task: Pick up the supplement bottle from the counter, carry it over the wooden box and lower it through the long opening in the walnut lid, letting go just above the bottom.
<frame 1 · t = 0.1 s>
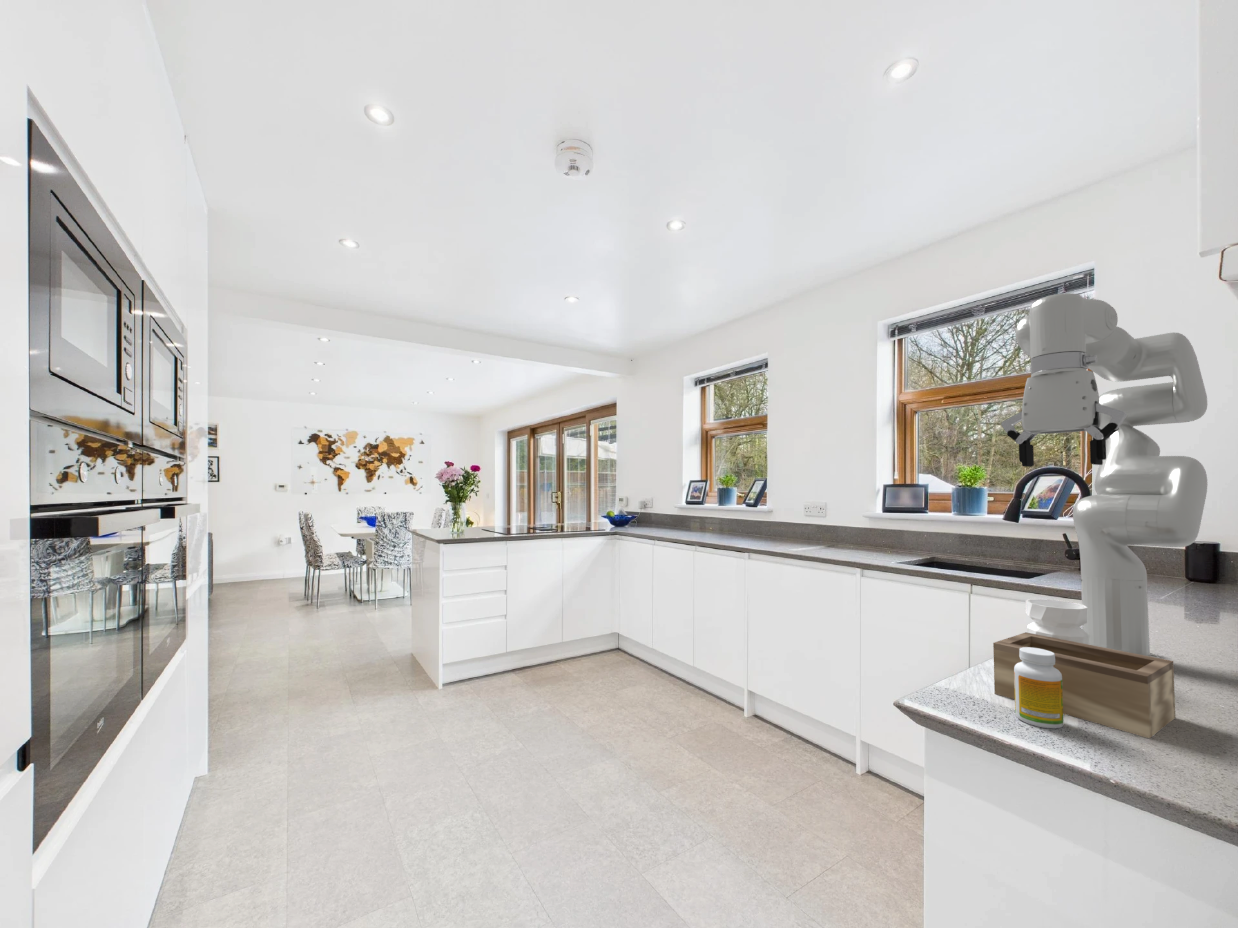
hand: (1060, 465, 93), 37 cm above the worktop, tool pointing down, fingers open, 9 cm apart
vase: (1057, 672, 96), on the worktop
supplement bottle: (1039, 722, 75), on the worktop
wooden box: (1080, 705, 81), on the worktop
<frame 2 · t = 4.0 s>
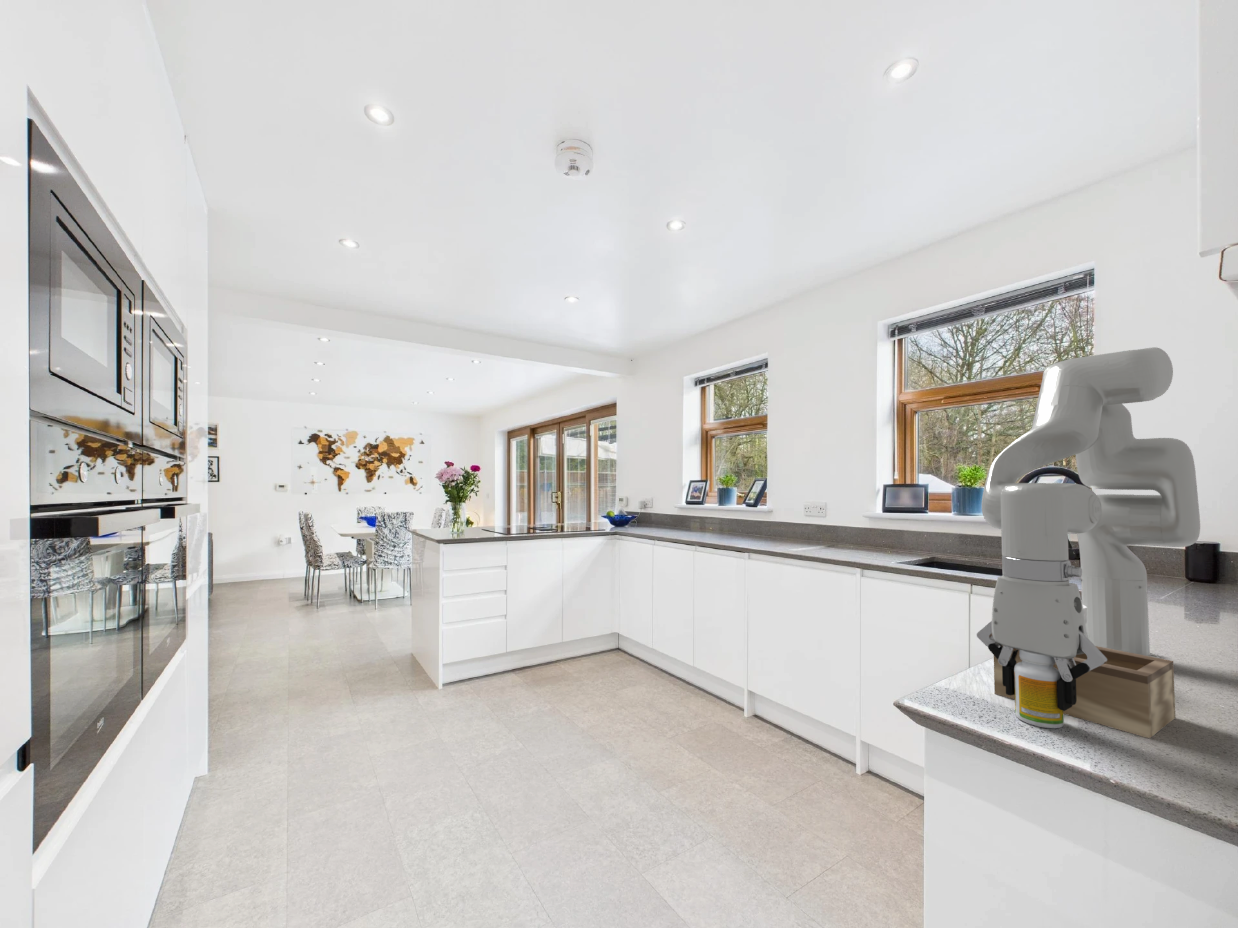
hand: (1038, 699, 76), 3 cm above the worktop, tool pointing down, fingers closed on supplement bottle, 5 cm apart
supplement bottle: (1039, 722, 75), on the worktop, touching gripper
everything else where it was.
when the fingers open (5 cm above the worktop, at t = 10.9 s): supplement bottle drops 2 cm, resting in wooden box.
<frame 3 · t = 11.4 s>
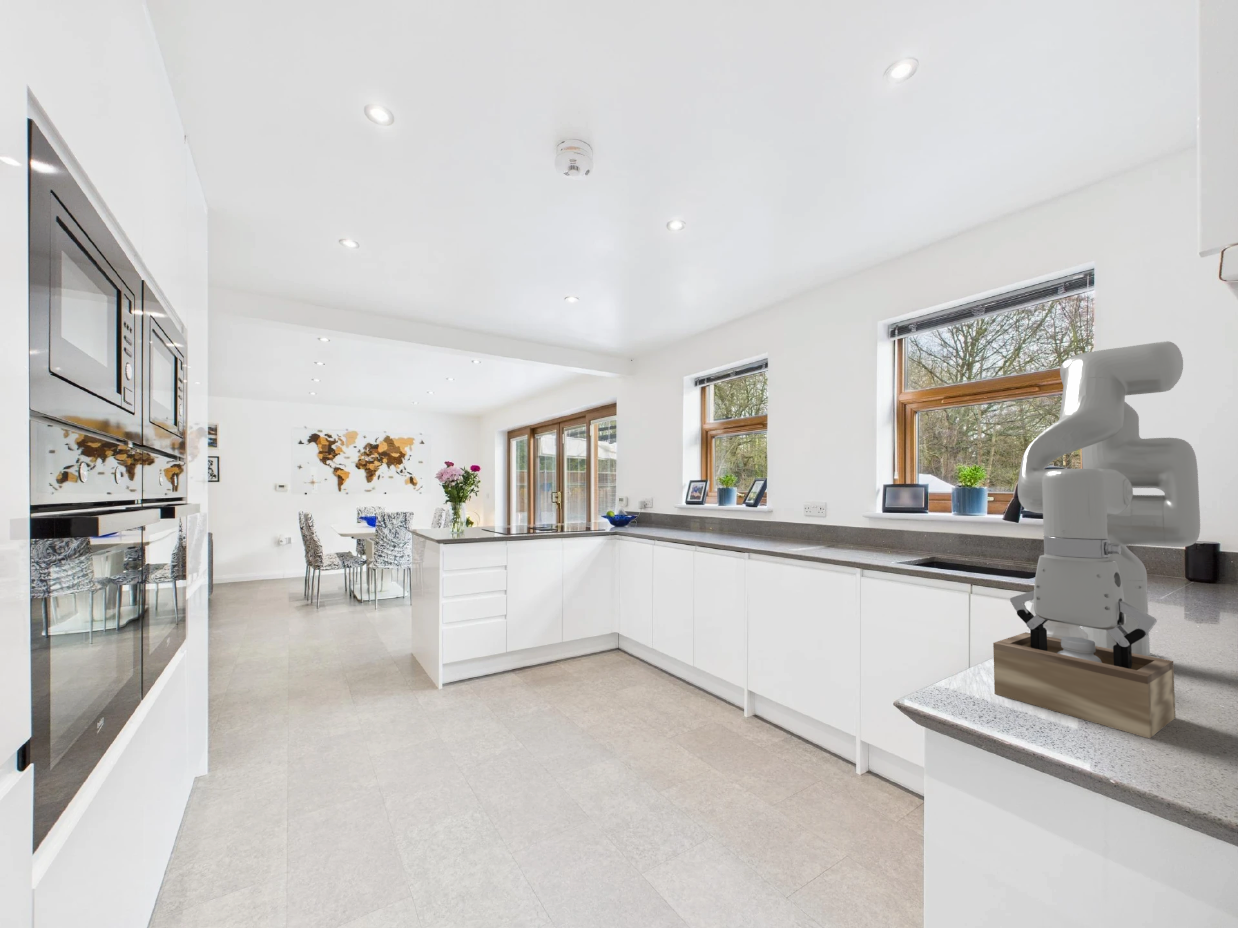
hand: (1078, 662, 81), 6 cm above the worktop, tool pointing down, fingers open, 9 cm apart
supplement bottle: (1080, 706, 81), resting in wooden box
everything else where it was.
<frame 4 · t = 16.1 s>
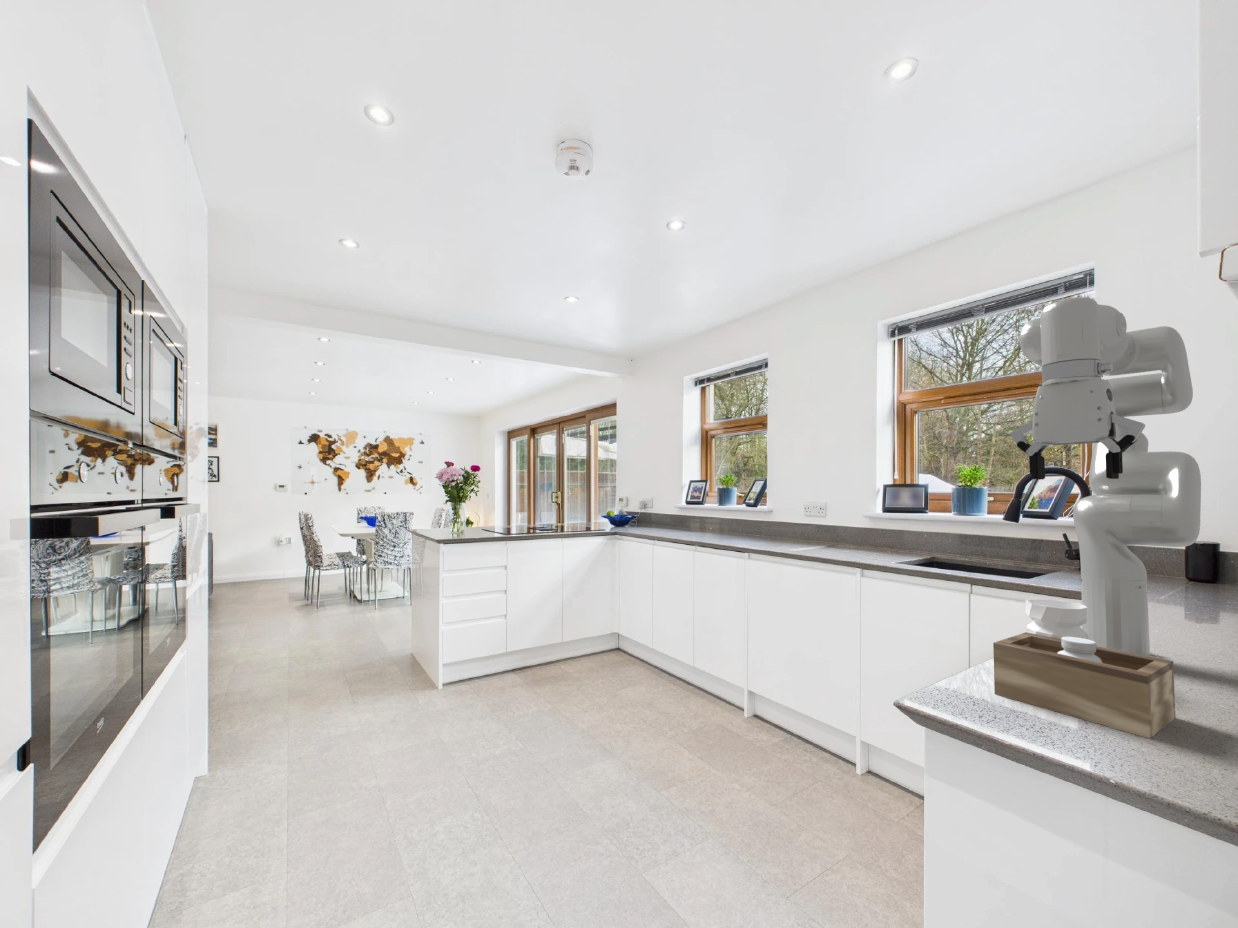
hand: (1074, 478, 88), 34 cm above the worktop, tool pointing down, fingers open, 9 cm apart
nothing on the worktop moved.
at the end: supplement bottle inside the target area on the wooden box (0.2 cm from its centre), point 0.0 cm above the wooden box's base; supplement bottle tilted 0°; the gripper is holding nothing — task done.
